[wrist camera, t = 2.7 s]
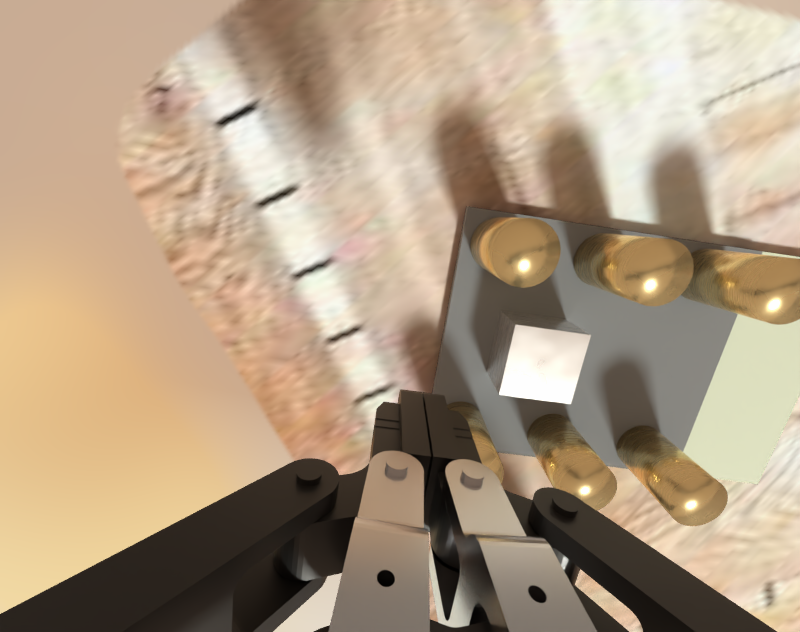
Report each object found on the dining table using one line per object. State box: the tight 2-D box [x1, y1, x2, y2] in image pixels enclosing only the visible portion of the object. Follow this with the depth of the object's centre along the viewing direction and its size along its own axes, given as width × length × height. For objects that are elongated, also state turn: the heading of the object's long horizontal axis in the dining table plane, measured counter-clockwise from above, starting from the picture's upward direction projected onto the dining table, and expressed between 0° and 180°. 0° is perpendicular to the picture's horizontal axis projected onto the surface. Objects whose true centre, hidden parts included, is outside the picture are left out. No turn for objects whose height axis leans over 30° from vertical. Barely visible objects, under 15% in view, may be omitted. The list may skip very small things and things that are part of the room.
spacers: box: [447, 217, 800, 526], centre depth 20 cm, size 15×14×5 cm
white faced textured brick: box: [487, 310, 591, 404], centre depth 21 cm, size 4×4×3 cm
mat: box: [432, 207, 800, 484], centre depth 23 cm, size 23×15×1 cm, turn 82°
